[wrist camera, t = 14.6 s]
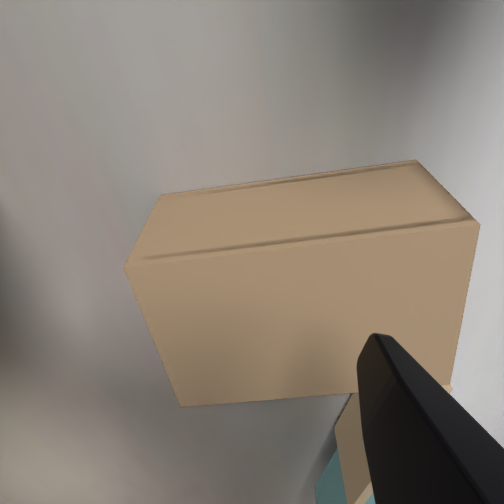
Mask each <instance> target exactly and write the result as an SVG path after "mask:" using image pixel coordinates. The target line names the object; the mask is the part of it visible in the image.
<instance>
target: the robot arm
mask: <svg viewBox="0 0 504 504" xmlns="http://www.w3.org/2000/svg"><path fill="white" fill-rule="evenodd" d="M356 369H357V381H358V393H359V404H360V416H361V427H362V436H363V442H364V448H365V453H366V458H367V463H368V468H369V473H370V478H371V484H372V489H373V494H374V499H375V504H504V448H503V447H502V446H501V445H500V444H499V443H498V442H497V441H496V440H495V439H494V438H493V437H492V436H491V435H490V434H489V433H488V432H487V431H486V430H485V429H484V428H483V427H482V426H481V425H480V424H479V423H478V422H477V421H476V420H475V419H474V418H473V417H472V416H471V415H470V414H469V413H468V412H467V411H466V410H465V409H464V408H463V407H462V406H461V405H460V404H459V403H458V402H457V401H456V400H455V399H454V398H453V397H452V396H451V395H450V394H449V393H448V392H447V391H446V390H445V389H444V388H443V387H442V386H441V385H440V384H439V383H438V382H437V381H436V380H435V379H434V378H433V377H432V376H431V375H430V374H429V373H428V372H427V371H426V370H425V369H424V368H423V367H422V366H421V365H420V364H419V363H418V362H417V361H416V360H415V359H414V358H413V357H412V356H411V355H410V354H409V353H408V352H407V351H406V350H405V349H404V348H403V347H402V346H401V345H400V344H399V343H398V342H397V341H396V340H395V339H394V338H393V337H392V336H390V335H386V334H380V333H372V334H371V335H370V336H369V337H368V339H367V341H366V343H365V345H364V347H363V349H362V351H361V353H360V355H359V357H358V360H357V366H356Z"/></svg>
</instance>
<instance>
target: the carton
mask: <svg viewBox="0 0 504 504" xmlns="http://www.w3.org/2000/svg"><path fill="white" fill-rule="evenodd" d="M479 229H480V224H479V223H478V222H477V221H476V220H475V219H474V218H473V217H472V216H471V215H470V214H469V213H468V212H467V211H466V209H465V208H464V207H463V206H462V205H461V204H460V203H459V202H458V201H457V200H456V199H455V198H454V197H453V196H452V195H451V194H450V193H449V192H448V191H447V190H446V189H445V188H444V187H443V186H442V185H441V184H440V183H439V182H438V181H437V180H436V179H435V178H434V177H433V176H432V175H431V174H430V173H429V172H428V171H427V170H426V169H425V168H424V167H423V166H422V165H421V164H420V163H419V162H418V161H417V160H412V161H404V162H397V163H390V164H383V165H376V166H368V167H361V168H354V169H347V170H339V171H332V172H325V173H318V174H311V175H303V176H296V177H289V178H282V179H275V180H267V181H260V182H253V183H246V184H238V185H231V186H224V187H217V188H210V189H202V190H195V191H188V192H181V193H173V194H166V195H160V196H159V198H158V200H157V202H156V204H155V206H154V208H153V210H152V212H151V214H150V216H149V218H148V220H147V222H146V224H145V226H144V228H143V230H142V232H141V234H140V236H139V238H138V240H137V242H136V244H135V246H134V248H133V250H132V252H131V254H130V256H129V258H128V260H127V262H126V264H125V266H124V271H125V273H126V276H127V278H128V280H129V283H130V285H131V288H132V290H133V293H134V295H135V297H136V300H137V302H138V305H139V307H140V310H141V312H142V314H143V317H144V319H145V322H146V324H147V327H148V329H149V331H150V334H151V336H152V339H153V341H154V344H155V346H156V349H157V351H158V353H159V356H160V358H161V361H162V363H163V366H164V368H165V370H166V373H167V375H168V378H169V380H170V383H171V385H172V387H173V390H174V392H175V395H176V397H177V400H178V402H179V404H180V407H191V406H203V405H215V404H227V403H239V402H251V401H263V400H275V399H287V398H298V397H310V396H322V395H334V394H346V393H358V381H357V369H356V366H357V360H358V357H359V355H360V353H361V351H362V349H363V347H364V345H365V343H366V341H367V339H368V337H369V336H370V335H371V334H372V333H380V334H386V335H390V336H392V337H393V338H394V339H395V340H396V341H397V342H398V343H399V344H400V345H401V346H402V347H403V348H404V349H405V350H406V351H407V352H408V353H409V354H410V355H411V356H412V357H413V358H414V359H415V360H416V361H417V362H418V363H419V364H420V365H421V366H422V367H423V368H424V369H425V370H426V371H427V372H428V373H429V374H430V375H431V376H432V377H433V378H434V379H435V380H436V381H437V382H438V383H439V384H440V385H450V381H451V376H452V370H453V365H454V360H455V355H456V349H457V344H458V339H459V334H460V329H461V323H462V318H463V313H464V308H465V302H466V297H467V292H468V287H469V282H470V276H471V271H472V266H473V261H474V255H475V250H476V245H477V240H478V234H479Z"/></svg>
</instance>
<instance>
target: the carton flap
mask: <svg viewBox="0 0 504 504" xmlns="http://www.w3.org/2000/svg"><path fill="white" fill-rule="evenodd" d="M441 386H442V387H443V388H444V389H445V390H446V391H447V392H448V393H450V392H451V391H452V390H453V389H452V387H451V385H441ZM334 430H335V436H336V442H337V447H338V448H337V449H336V451H335V453H334V454H333V456H332V458H331V459H330V461H329V463H328V465H327V466H326V468H325V470H324V471H323V473H322V475H321V476H320V478H319V480H318V481H317V483H316V485H315V494H316V503H317V504H375V499H374V494H373V489H372V484H371V478H370V473H369V468H368V463H367V458H366V453H365V448H364V442H363V436H362V427H361V416H360V404H359V393H353V394H352V396H351V398H350V400H349V401H348V403H347V405H346V407H345V409H344V410H343V412H342V414H341V416H340V418H339V420H338V421H337V423H336V425H335V427H334Z"/></svg>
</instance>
